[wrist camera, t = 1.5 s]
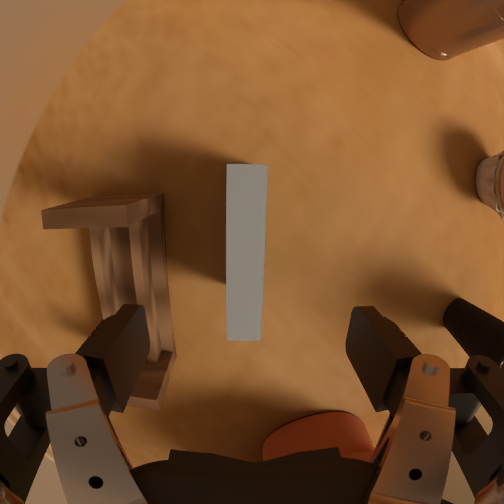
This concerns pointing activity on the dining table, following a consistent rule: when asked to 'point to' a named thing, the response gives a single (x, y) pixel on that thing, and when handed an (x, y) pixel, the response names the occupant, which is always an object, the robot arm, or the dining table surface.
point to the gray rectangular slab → (245, 249)
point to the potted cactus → (321, 436)
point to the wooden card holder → (129, 273)
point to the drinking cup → (476, 330)
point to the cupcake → (491, 182)
